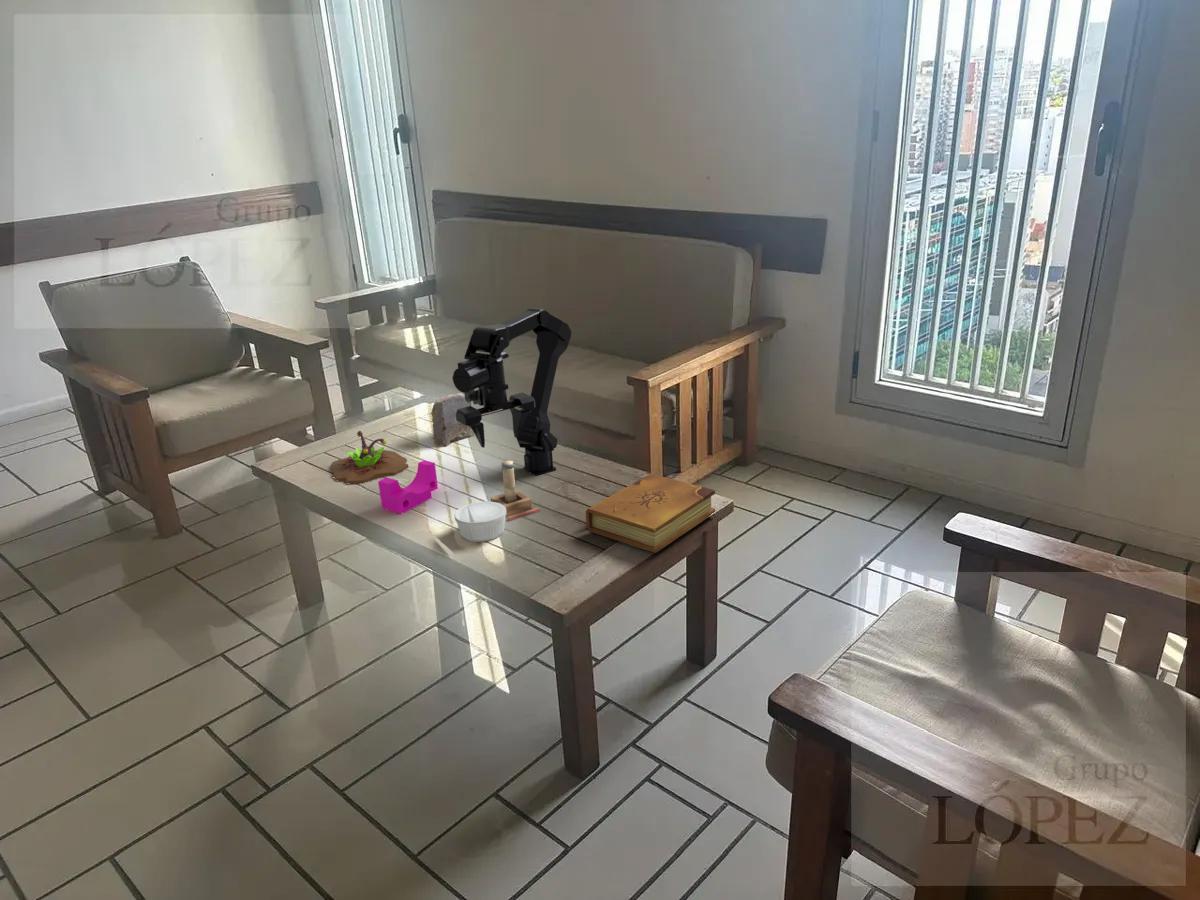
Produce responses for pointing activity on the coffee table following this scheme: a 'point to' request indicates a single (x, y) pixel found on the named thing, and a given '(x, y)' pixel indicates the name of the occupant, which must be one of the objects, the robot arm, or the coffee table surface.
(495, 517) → the ramekin
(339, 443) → the coffee table surface
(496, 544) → the coffee table surface
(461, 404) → the geological specimen
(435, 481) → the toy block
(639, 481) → the diary
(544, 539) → the coffee table surface
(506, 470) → the dowel
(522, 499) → the wooden square frame
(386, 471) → the plant
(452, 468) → the coffee table surface
